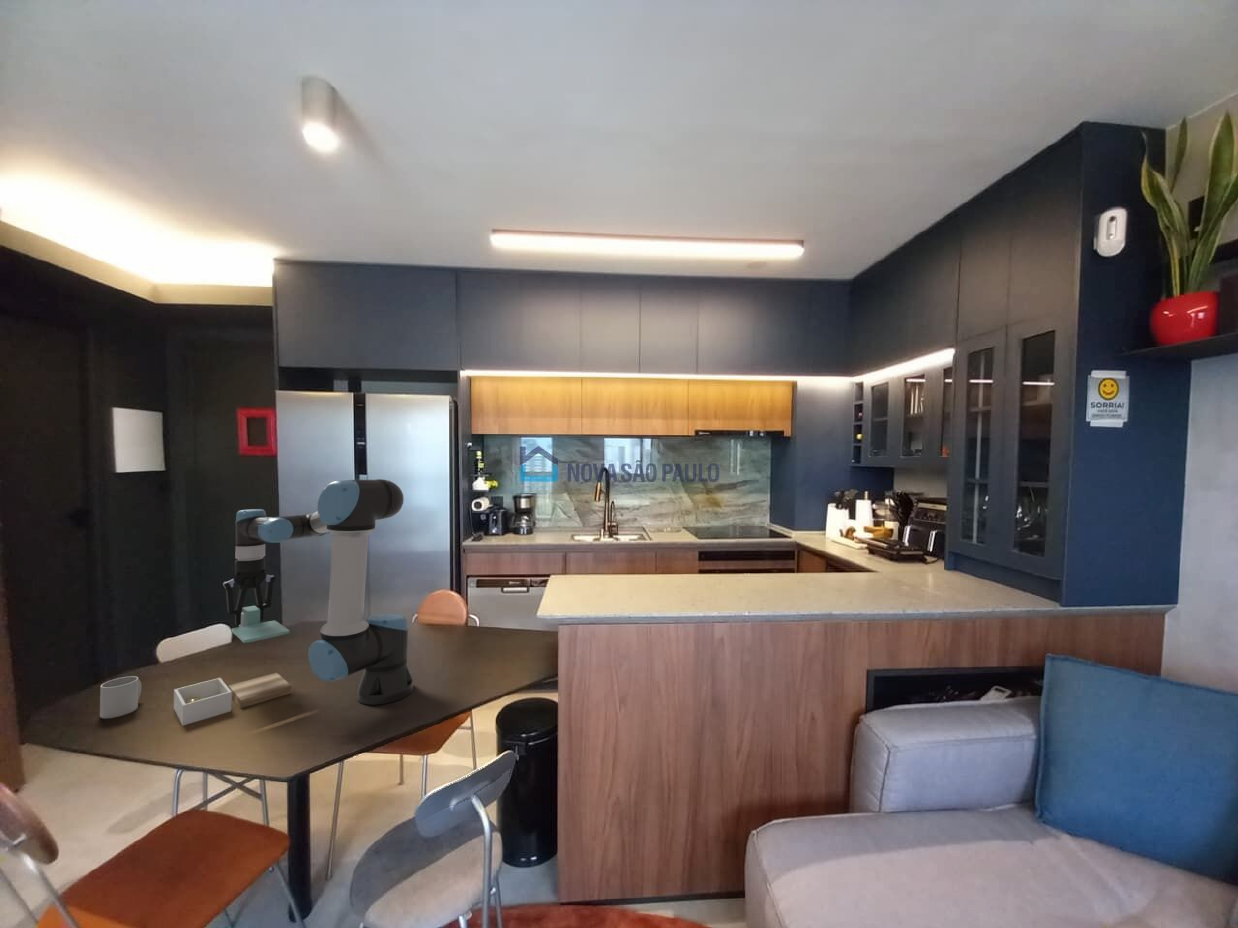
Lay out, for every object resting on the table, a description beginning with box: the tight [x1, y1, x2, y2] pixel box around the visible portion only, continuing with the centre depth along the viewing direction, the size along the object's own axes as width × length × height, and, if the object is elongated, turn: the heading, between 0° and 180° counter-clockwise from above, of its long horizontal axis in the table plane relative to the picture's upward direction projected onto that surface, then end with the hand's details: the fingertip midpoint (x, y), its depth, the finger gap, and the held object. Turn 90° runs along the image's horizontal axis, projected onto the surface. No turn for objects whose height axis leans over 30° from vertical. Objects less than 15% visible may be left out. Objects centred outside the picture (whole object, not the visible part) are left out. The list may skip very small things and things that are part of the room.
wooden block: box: [228, 672, 292, 709], centre depth 142 cm, size 14×12×3 cm
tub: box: [173, 677, 233, 726], centre depth 132 cm, size 14×10×6 cm
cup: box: [99, 675, 142, 719], centre depth 132 cm, size 7×10×9 cm
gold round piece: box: [187, 697, 200, 703], centre depth 133 cm, size 3×3×2 cm
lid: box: [231, 605, 290, 644], centre depth 144 cm, size 21×11×6 cm, turn 50°
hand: (249, 632), depth 150 cm, fingers closed on lid, 3 cm apart
